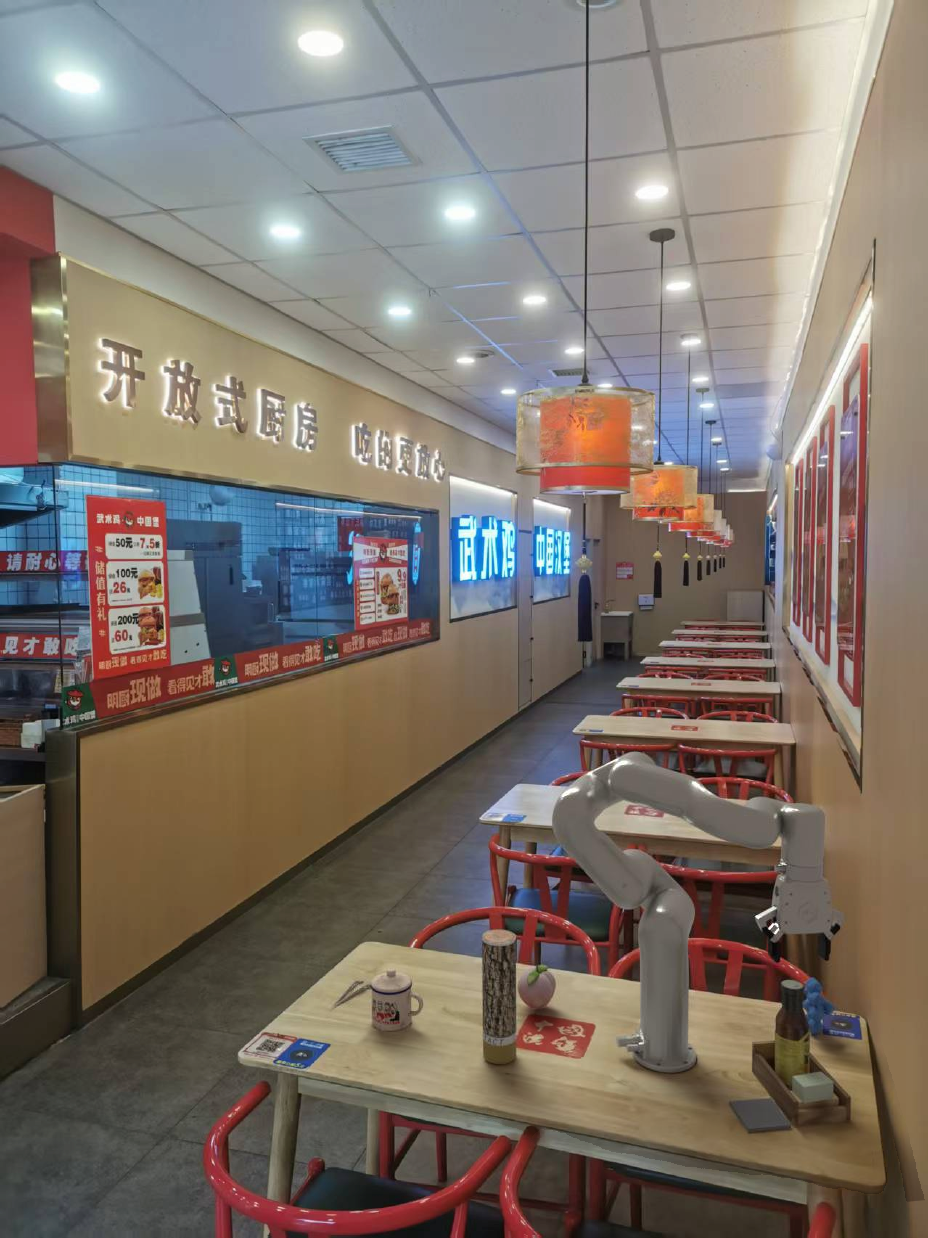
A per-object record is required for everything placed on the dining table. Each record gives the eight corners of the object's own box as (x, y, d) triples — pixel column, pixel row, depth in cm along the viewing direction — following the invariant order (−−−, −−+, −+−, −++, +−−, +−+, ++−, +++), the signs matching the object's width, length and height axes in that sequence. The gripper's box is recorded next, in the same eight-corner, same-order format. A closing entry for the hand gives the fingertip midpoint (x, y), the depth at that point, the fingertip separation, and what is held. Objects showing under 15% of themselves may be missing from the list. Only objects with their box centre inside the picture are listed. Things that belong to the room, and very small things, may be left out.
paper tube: (498, 1043, 184) (498, 926, 182) (523, 1056, 179) (522, 936, 178) (475, 1056, 179) (475, 936, 178) (500, 1070, 174) (499, 946, 173)
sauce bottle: (812, 1098, 164) (814, 995, 163) (776, 1095, 166) (778, 992, 164) (806, 1078, 171) (807, 978, 169) (772, 1075, 172) (773, 975, 171)
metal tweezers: (359, 982, 213) (358, 975, 212) (375, 987, 210) (375, 979, 210) (313, 1020, 197) (313, 1012, 197) (330, 1025, 195) (330, 1017, 195)
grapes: (839, 1050, 180) (840, 993, 180) (804, 1046, 182) (805, 989, 181) (830, 1022, 192) (832, 968, 191) (797, 1018, 193) (798, 964, 192)
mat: (747, 1132, 155) (747, 1128, 155) (729, 1104, 163) (729, 1101, 163) (791, 1128, 156) (791, 1125, 156) (770, 1101, 164) (770, 1098, 164)
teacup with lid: (363, 1028, 191) (362, 975, 190) (382, 1008, 199) (381, 957, 198) (414, 1038, 186) (413, 984, 186) (431, 1017, 195) (430, 966, 194)
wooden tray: (793, 1126, 156) (794, 1093, 156) (751, 1071, 173) (752, 1042, 173) (850, 1121, 157) (851, 1089, 157) (803, 1067, 174) (803, 1038, 174)
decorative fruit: (524, 996, 204) (524, 954, 203) (559, 1002, 201) (559, 959, 201) (512, 1015, 195) (511, 971, 195) (547, 1022, 192) (547, 977, 192)
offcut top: (803, 1103, 158) (803, 1087, 157) (792, 1092, 161) (792, 1076, 161) (833, 1098, 159) (833, 1082, 159) (821, 1087, 162) (821, 1071, 162)
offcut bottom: (796, 1121, 158) (797, 1102, 158) (787, 1109, 162) (787, 1091, 161) (838, 1117, 159) (838, 1098, 159) (827, 1105, 163) (828, 1087, 162)
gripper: (766, 879, 162) (763, 969, 163) (856, 876, 164) (852, 966, 165) (749, 865, 169) (746, 951, 171) (835, 862, 171) (832, 948, 172)
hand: (798, 958), depth 168 cm, fingers open, 9 cm apart
